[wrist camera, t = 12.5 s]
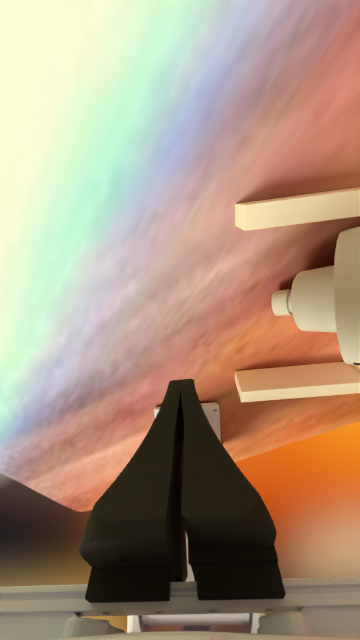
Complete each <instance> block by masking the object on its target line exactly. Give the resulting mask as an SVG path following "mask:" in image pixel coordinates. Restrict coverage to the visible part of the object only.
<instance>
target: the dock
mask: <svg viewBox="0 0 360 640" xmlns="http://www.w3.org/2000/svg"><path fill="white" fill-rule="evenodd" d="M357 216H360V187H356V188H349V189H342V190H334V191H327V192H319V193H312V194H305V195H297V196H290V197H283V198H275V199H268V200H261V201H253V202H246V203H238V204H235V226H237V227H239V228H241V229H243V230H245V231H247V230H255V229H263V228H271V227H279V226H287V225H294V224H302V223H310V222H318V221H326V220H334V219H341V218H349V217H357ZM235 383H236V386H237V390H238V393H239V397H240V400H241V402H254V401H266V400H279V399H292V398H304V397H317V396H330V395H342V394H355V393H360V365H353V364H346V363H345V362H333V363H321V364H310V365H299V366H287V367H276V368H264V369H253V370H242V371H235Z"/></svg>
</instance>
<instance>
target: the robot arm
mask: <svg viewBox="0 0 360 640" xmlns="http://www.w3.org/2000/svg"><path fill="white" fill-rule="evenodd" d="M154 415H155V420H154V422H153V424H152V426H151V428H150V430H149V431H148V433H147V435H146V437H145V438H144V440H143V442H142V443H141V445H140V446H139V448H138V449H137V451H136V453H135V454H134V456H133V457H132V458H131V460H130V461H129V463H128V464H127V465H126V467H125V468H124V469H123V471H122V472H121V473H120V475H119V476H118V477H117V479H116V480H115V481H114V482H113V483H112V485H111V486H110V487H109V488H108V489H107V490H106V492H105V493H104V494H103V495H102V496H101V497H100V499H99V500H98V501H97V502H96V503H95V505H94V507H93V510H92V512H91V515H90V517H89V520H88V522H87V525H86V528H85V532H84V535H83V539H82V542H81V546H80V550H79V552H80V554H81V556H82V558H84V560H85V561H86V562H88V564H90V566H91V567H92V570H91V574H90V578H89V583H88V584H86V585H50V586H15V587H0V640H360V577H333V578H331V577H330V578H297V579H296V578H295V579H282V578H281V574H280V570H279V567H278V563H277V562H278V558H277V554H276V550H275V546H274V542H275V538H276V529H275V526H274V523H273V520H272V518H271V516H270V514H269V512H268V510H267V508H266V506H265V504H264V502H263V500H262V499H261V497H260V495H259V493H258V492H257V491H256V490H255V488H254V487H253V486H252V485H251V484H250V482H249V481H248V480H247V479H246V477H245V476H244V475H243V474H242V472H241V471H240V470H239V468H238V467H237V466H236V464H235V463H234V461H233V460H232V458H231V457H230V455H229V454H228V453H227V451H226V450H225V448H224V447H223V445H222V444H221V434H220V414H219V404H218V403H216V402H213V403H200V401H199V399H198V396H197V393H196V390H195V385H194V380H193V379H185V380H173V381H170V382H169V385H168V389H167V392H166V395H165V397H164V400H163V402H162V405H161V407H155V408H154ZM264 613H278V614H272V615H266V616H265V615H264ZM81 616H128V622H127V623H128V625H127V633H125V632H124V630H121V629H118V628H115V627H113V626H112V625H110V623H109V621H108V620H100V619H91V618H82V617H81Z"/></svg>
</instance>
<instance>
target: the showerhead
mask: <svg viewBox="0 0 360 640" xmlns="http://www.w3.org/2000/svg"><path fill="white" fill-rule="evenodd" d="M272 309H273V312H274V314H275V315H277V316H278V315H292V314H293V318H294V321H295V323H296V325H297V326H298V327H299V329H301V330H302V331H319V332H337V338H338V343H339V348H340V352H341V355H342V358H343V360H344V362H345V363H346V364H353V365H360V226H359V227H355V228H352V229H348V230H344V231H342V232H341V233H340V234H339V236H338V239H337V244H336V250H335V260H334V265H333V266H328V267H322V268H317V269H312V270H306V271H301V272H299V273H298V274H297V275H296V277H295V278H294V281H293V284H292V290H291V289H288V290H279V291H274V292H273V295H272Z"/></svg>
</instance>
